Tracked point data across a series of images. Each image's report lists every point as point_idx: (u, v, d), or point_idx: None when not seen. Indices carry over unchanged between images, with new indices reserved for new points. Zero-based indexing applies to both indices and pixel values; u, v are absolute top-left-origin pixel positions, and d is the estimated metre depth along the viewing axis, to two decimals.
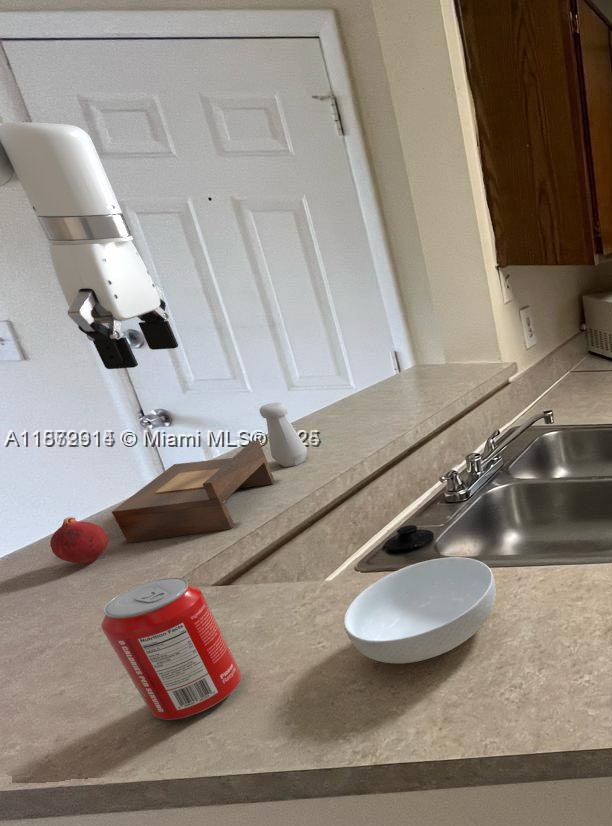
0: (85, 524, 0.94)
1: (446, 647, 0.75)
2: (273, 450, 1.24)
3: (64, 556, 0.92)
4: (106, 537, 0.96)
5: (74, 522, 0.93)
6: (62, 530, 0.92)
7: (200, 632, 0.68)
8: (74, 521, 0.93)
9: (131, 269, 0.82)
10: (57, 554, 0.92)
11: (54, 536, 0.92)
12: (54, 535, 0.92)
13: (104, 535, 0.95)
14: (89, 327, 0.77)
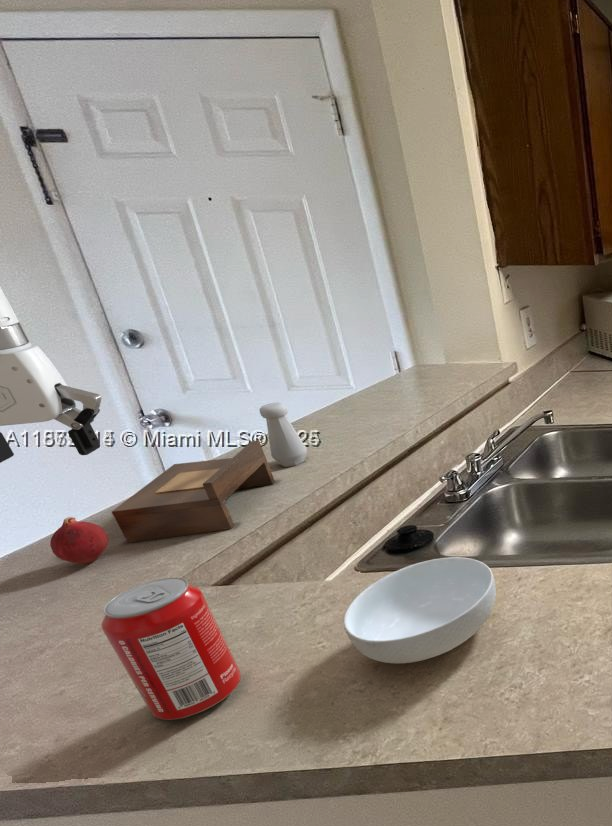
0: (85, 524, 0.94)
1: (446, 647, 0.75)
2: (273, 450, 1.24)
3: (64, 556, 0.92)
4: (106, 537, 0.96)
5: (74, 522, 0.93)
6: (62, 530, 0.92)
7: (200, 632, 0.68)
8: (74, 521, 0.93)
9: None
10: (57, 554, 0.92)
11: (54, 536, 0.92)
12: (54, 535, 0.92)
13: (104, 535, 0.95)
14: (97, 410, 0.88)
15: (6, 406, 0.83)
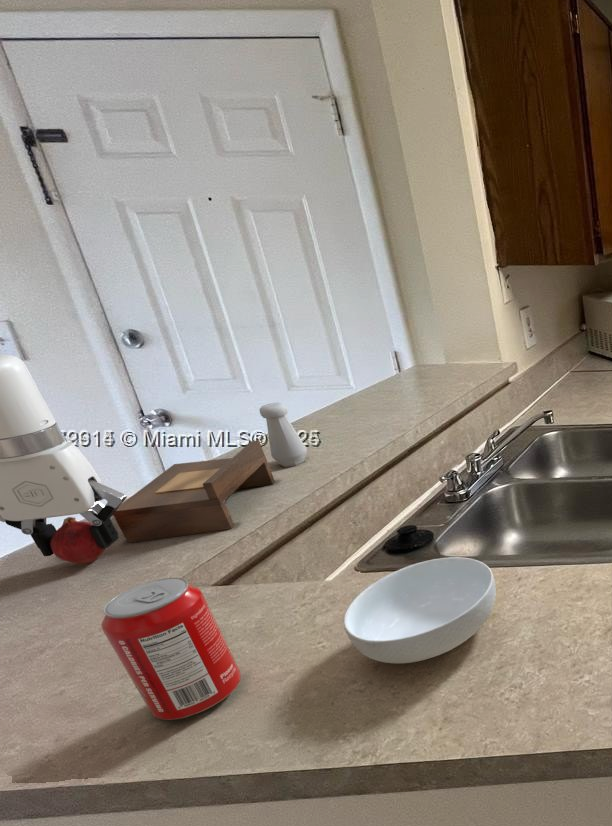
0: (85, 524, 0.94)
1: (446, 647, 0.75)
2: (273, 450, 1.24)
3: (64, 556, 0.92)
4: None
5: (74, 522, 0.93)
6: (62, 530, 0.92)
7: (200, 632, 0.68)
8: (74, 521, 0.93)
9: None
10: (57, 554, 0.92)
11: (55, 536, 0.92)
12: (54, 535, 0.92)
13: None
14: (117, 507, 0.94)
15: (43, 501, 0.88)
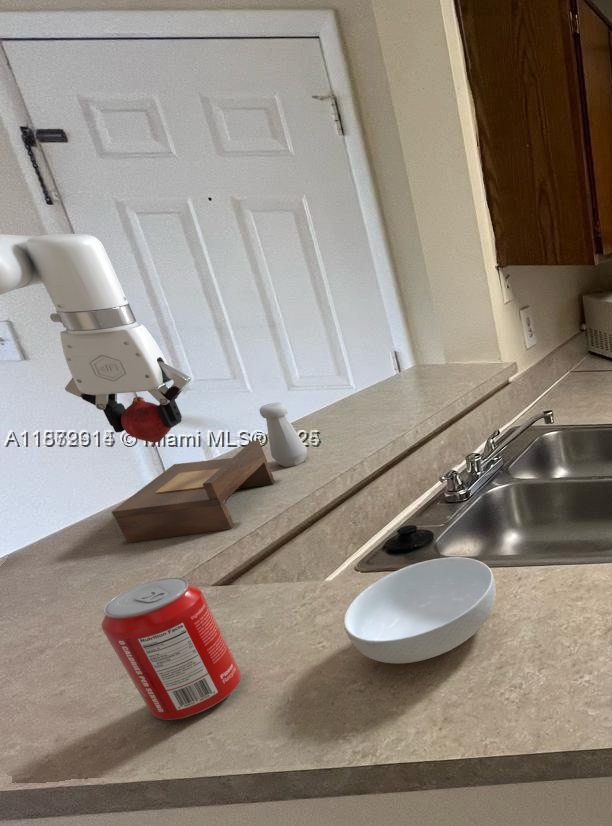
0: (152, 404, 1.00)
1: (446, 647, 0.75)
2: (273, 450, 1.24)
3: (133, 431, 0.98)
4: None
5: (143, 401, 0.99)
6: (132, 407, 0.98)
7: (200, 632, 0.68)
8: (142, 400, 0.99)
9: None
10: (127, 430, 0.98)
11: (125, 412, 0.98)
12: (125, 412, 0.98)
13: None
14: (182, 389, 1.01)
15: (117, 376, 0.95)
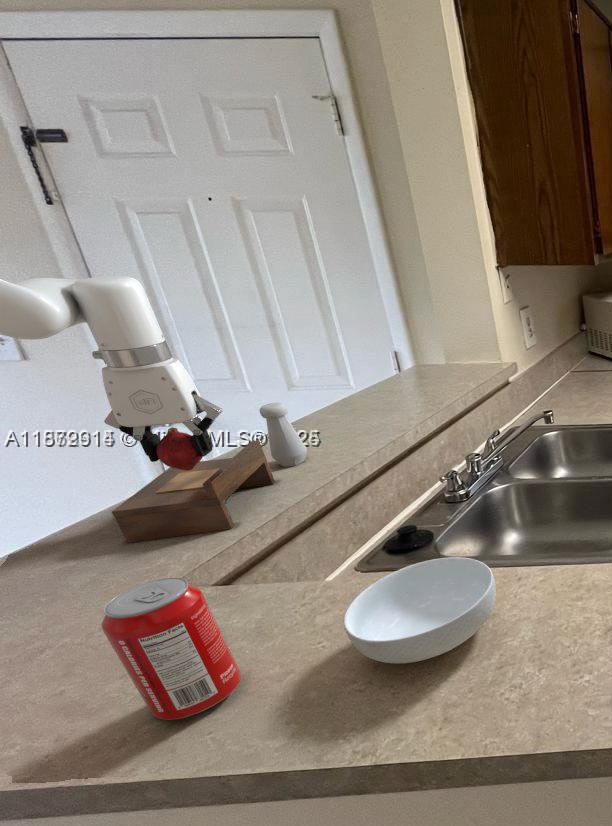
0: (186, 434, 1.05)
1: (446, 647, 0.75)
2: (273, 450, 1.24)
3: (168, 461, 1.03)
4: None
5: (177, 431, 1.04)
6: (167, 438, 1.03)
7: (200, 632, 0.68)
8: (177, 431, 1.04)
9: None
10: (163, 459, 1.03)
11: (160, 443, 1.03)
12: (160, 442, 1.03)
13: None
14: (214, 420, 1.06)
15: (154, 409, 1.00)
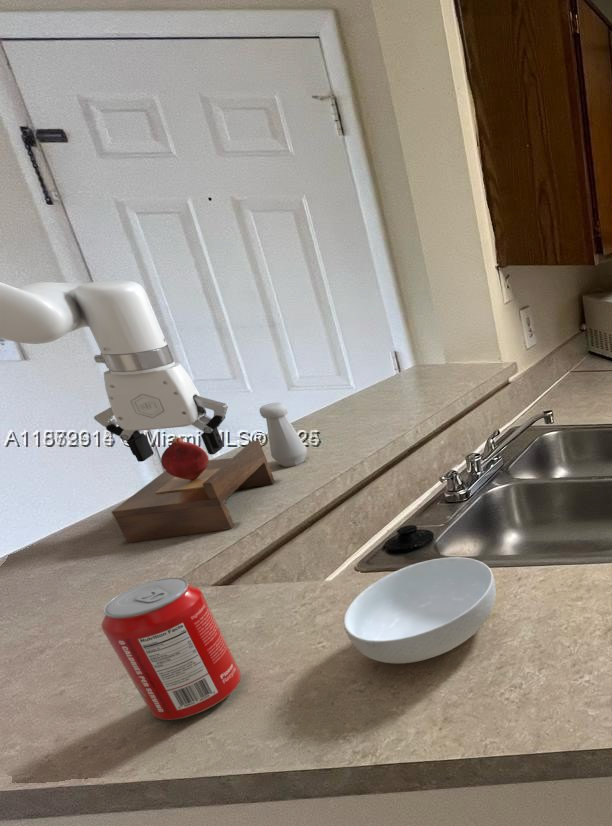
0: (190, 444, 1.06)
1: (446, 647, 0.75)
2: (273, 450, 1.24)
3: (173, 470, 1.04)
4: (207, 457, 1.08)
5: (181, 441, 1.05)
6: (172, 448, 1.04)
7: (200, 632, 0.68)
8: (181, 441, 1.05)
9: None
10: (167, 469, 1.04)
11: (165, 453, 1.04)
12: (165, 452, 1.04)
13: (205, 455, 1.07)
14: (224, 416, 1.06)
15: (156, 413, 1.00)
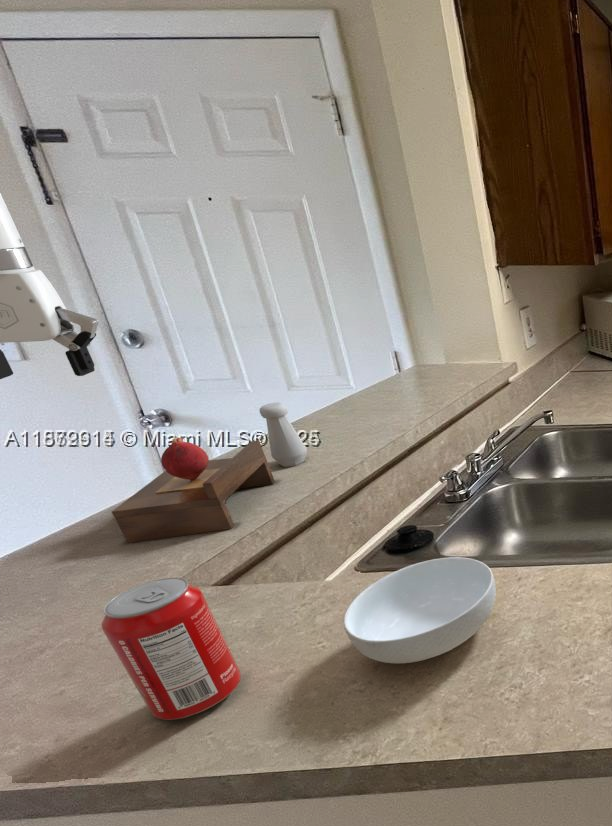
0: (190, 444, 1.06)
1: (446, 647, 0.75)
2: (273, 450, 1.24)
3: (173, 470, 1.04)
4: (207, 457, 1.08)
5: (181, 441, 1.05)
6: (172, 448, 1.04)
7: (200, 632, 0.68)
8: (181, 441, 1.05)
9: None
10: (167, 469, 1.04)
11: (165, 453, 1.04)
12: (165, 452, 1.04)
13: (205, 455, 1.07)
14: (94, 334, 0.95)
15: (9, 324, 0.89)
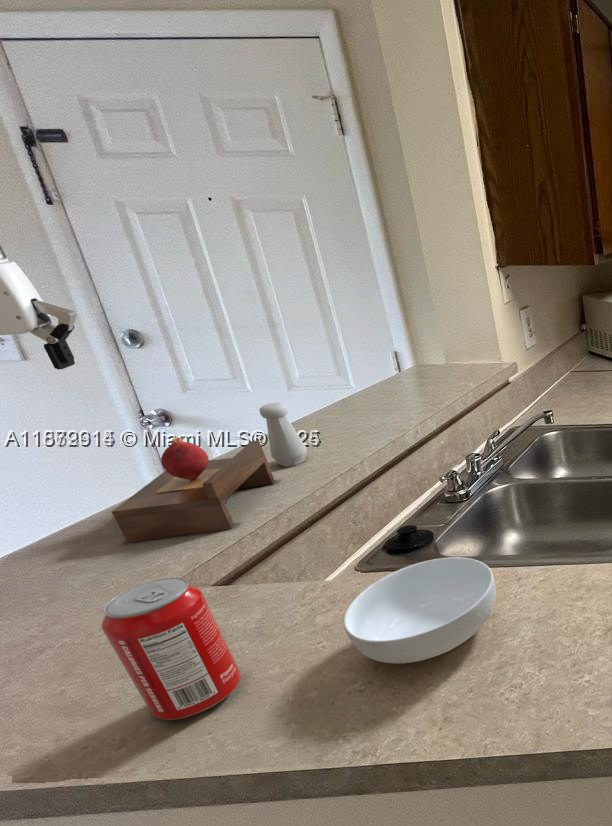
0: (190, 444, 1.06)
1: (446, 647, 0.75)
2: (273, 450, 1.24)
3: (173, 470, 1.04)
4: (207, 457, 1.08)
5: (181, 441, 1.05)
6: (172, 448, 1.04)
7: (200, 632, 0.68)
8: (181, 441, 1.05)
9: None
10: (167, 469, 1.04)
11: (165, 453, 1.04)
12: (165, 452, 1.04)
13: (205, 455, 1.07)
14: (72, 326, 0.93)
15: None
